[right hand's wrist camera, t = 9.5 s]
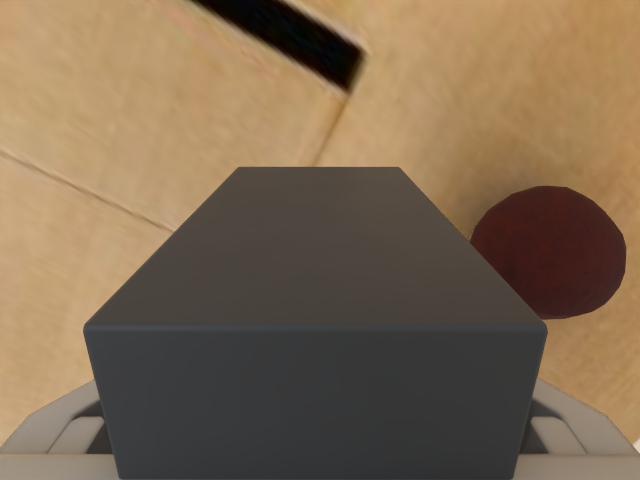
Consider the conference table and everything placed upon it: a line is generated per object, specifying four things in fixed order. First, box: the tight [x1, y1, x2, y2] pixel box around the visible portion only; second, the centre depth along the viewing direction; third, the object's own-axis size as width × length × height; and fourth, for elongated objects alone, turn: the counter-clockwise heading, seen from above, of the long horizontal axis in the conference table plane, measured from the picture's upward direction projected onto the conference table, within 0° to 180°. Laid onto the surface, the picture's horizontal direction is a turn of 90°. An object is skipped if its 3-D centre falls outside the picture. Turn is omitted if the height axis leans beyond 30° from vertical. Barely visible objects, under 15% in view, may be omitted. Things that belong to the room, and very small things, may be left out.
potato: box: [470, 186, 626, 319], centre depth 23 cm, size 7×8×7 cm
